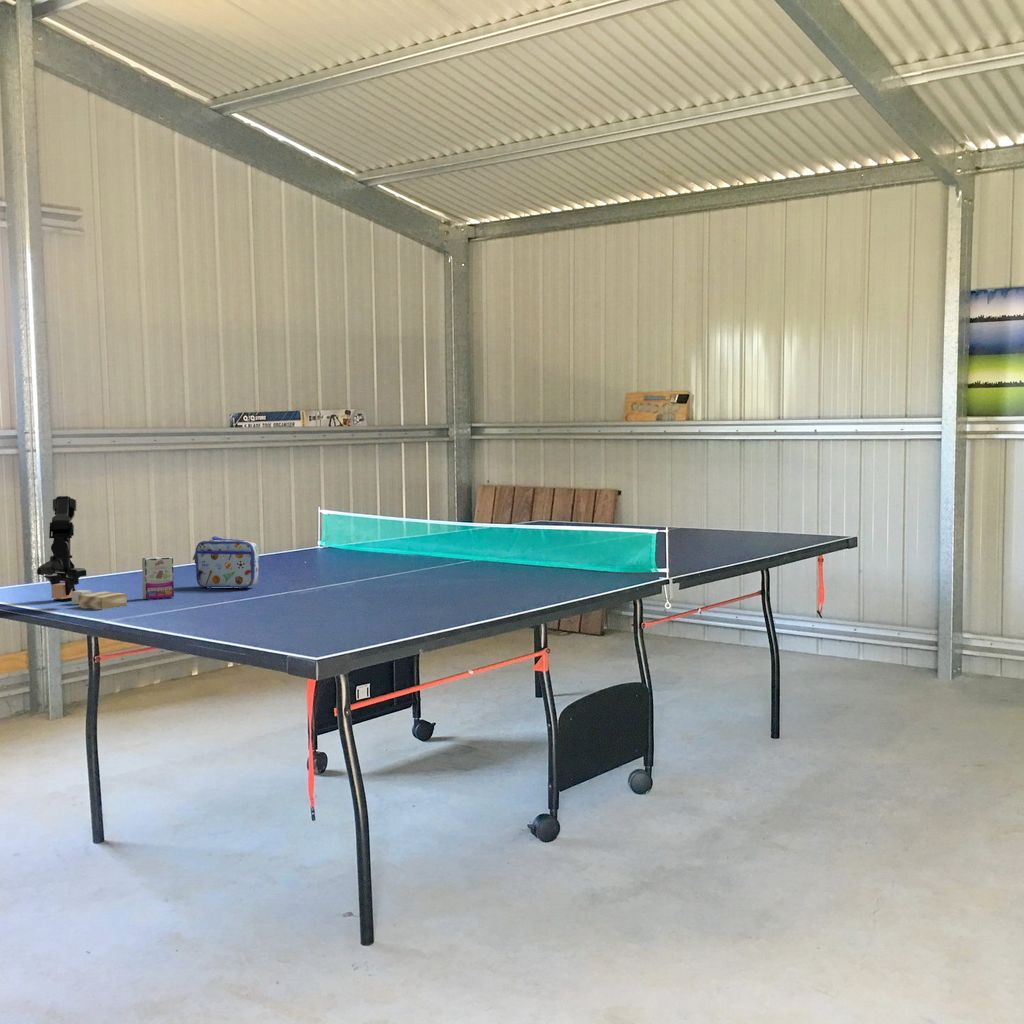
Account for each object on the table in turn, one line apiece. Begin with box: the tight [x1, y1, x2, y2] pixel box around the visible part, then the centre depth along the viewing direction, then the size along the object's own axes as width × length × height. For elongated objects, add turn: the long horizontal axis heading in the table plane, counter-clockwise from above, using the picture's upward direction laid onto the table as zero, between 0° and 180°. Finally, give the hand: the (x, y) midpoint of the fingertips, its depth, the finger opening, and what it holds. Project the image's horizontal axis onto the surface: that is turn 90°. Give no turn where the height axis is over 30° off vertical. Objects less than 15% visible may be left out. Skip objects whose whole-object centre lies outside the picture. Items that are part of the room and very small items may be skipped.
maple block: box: [78, 590, 128, 611], centre depth 404 cm, size 12×12×5 cm
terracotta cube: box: [50, 583, 72, 599], centre depth 398 cm, size 5×5×5 cm
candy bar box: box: [141, 556, 175, 600], centre depth 426 cm, size 11×5×16 cm, turn 126°
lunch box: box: [192, 535, 260, 589], centre depth 459 cm, size 28×10×22 cm, turn 84°
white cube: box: [71, 589, 93, 605], centre depth 410 cm, size 5×5×5 cm
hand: (61, 594), depth 398 cm, fingers closed on terracotta cube, 5 cm apart
